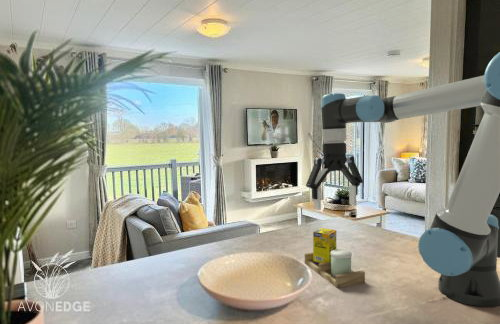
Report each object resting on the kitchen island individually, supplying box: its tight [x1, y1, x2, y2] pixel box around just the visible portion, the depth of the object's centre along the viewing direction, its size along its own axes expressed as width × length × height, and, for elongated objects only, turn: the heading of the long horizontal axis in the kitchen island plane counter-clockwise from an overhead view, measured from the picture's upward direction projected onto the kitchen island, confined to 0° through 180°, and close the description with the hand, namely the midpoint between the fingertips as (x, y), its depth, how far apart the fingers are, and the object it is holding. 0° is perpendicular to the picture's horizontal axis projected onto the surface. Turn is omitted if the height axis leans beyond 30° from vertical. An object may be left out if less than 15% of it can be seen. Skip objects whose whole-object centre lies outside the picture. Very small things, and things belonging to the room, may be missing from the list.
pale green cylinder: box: [331, 248, 352, 279], centre depth 103 cm, size 6×6×8 cm
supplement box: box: [312, 227, 337, 264], centre depth 112 cm, size 6×6×11 cm
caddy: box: [304, 252, 366, 289], centre depth 108 cm, size 20×10×4 cm, turn 18°
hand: (335, 207), depth 110 cm, fingers open, 13 cm apart
